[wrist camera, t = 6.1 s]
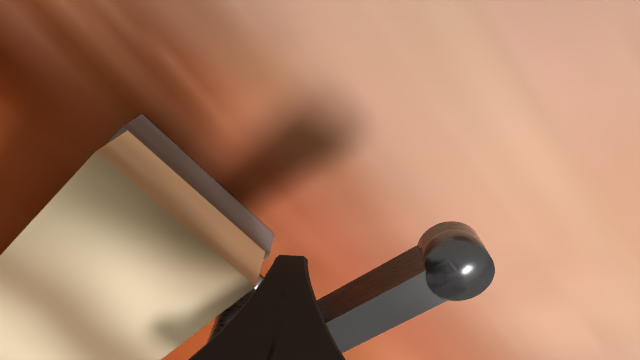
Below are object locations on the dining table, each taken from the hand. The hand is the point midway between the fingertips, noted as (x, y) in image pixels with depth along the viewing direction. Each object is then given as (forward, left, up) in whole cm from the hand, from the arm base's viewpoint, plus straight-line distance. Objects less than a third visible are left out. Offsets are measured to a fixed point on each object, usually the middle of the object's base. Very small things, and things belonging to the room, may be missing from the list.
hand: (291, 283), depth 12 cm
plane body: (+3, +14, -5) cm, 15 cm away
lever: (-2, 0, -4) cm, 4 cm away
